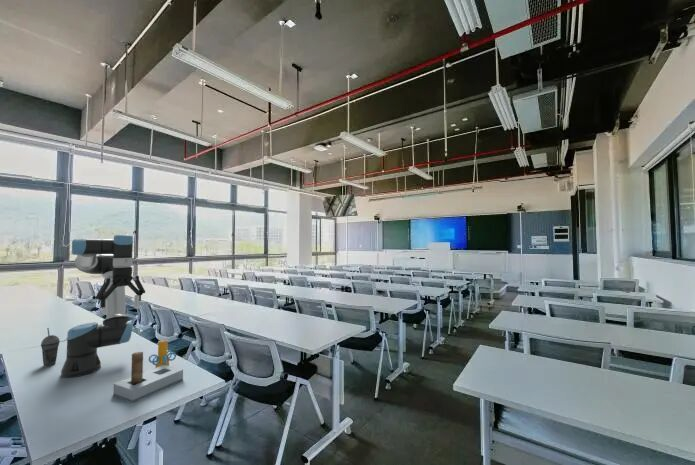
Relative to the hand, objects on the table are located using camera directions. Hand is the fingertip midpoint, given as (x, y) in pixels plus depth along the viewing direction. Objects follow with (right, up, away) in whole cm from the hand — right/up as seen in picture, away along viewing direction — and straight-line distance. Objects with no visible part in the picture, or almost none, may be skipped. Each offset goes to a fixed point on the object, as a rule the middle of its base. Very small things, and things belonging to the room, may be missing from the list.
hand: (121, 311), depth 141 cm
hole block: (+19, -32, -8) cm, 38 cm away
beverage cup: (-53, -34, +18) cm, 65 cm away
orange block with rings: (+13, -33, +10) cm, 37 cm away
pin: (+17, -31, -13) cm, 38 cm away
